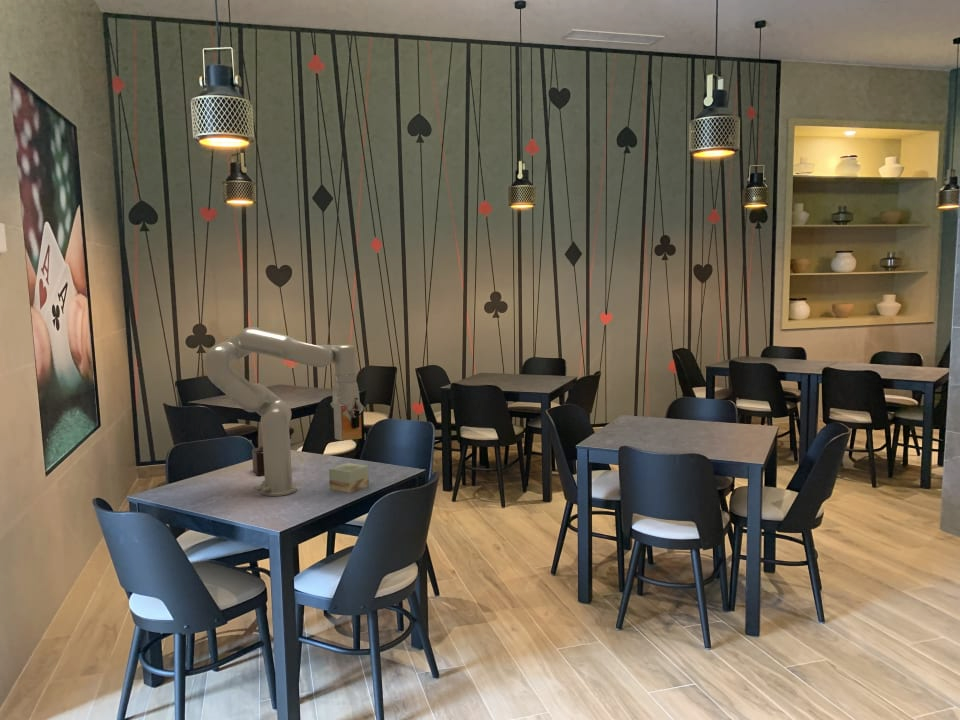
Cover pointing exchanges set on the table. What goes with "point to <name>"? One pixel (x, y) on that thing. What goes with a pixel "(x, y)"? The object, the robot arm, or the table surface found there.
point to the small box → (345, 424)
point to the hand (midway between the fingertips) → (347, 426)
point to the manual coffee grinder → (261, 458)
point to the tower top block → (348, 472)
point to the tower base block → (349, 485)
